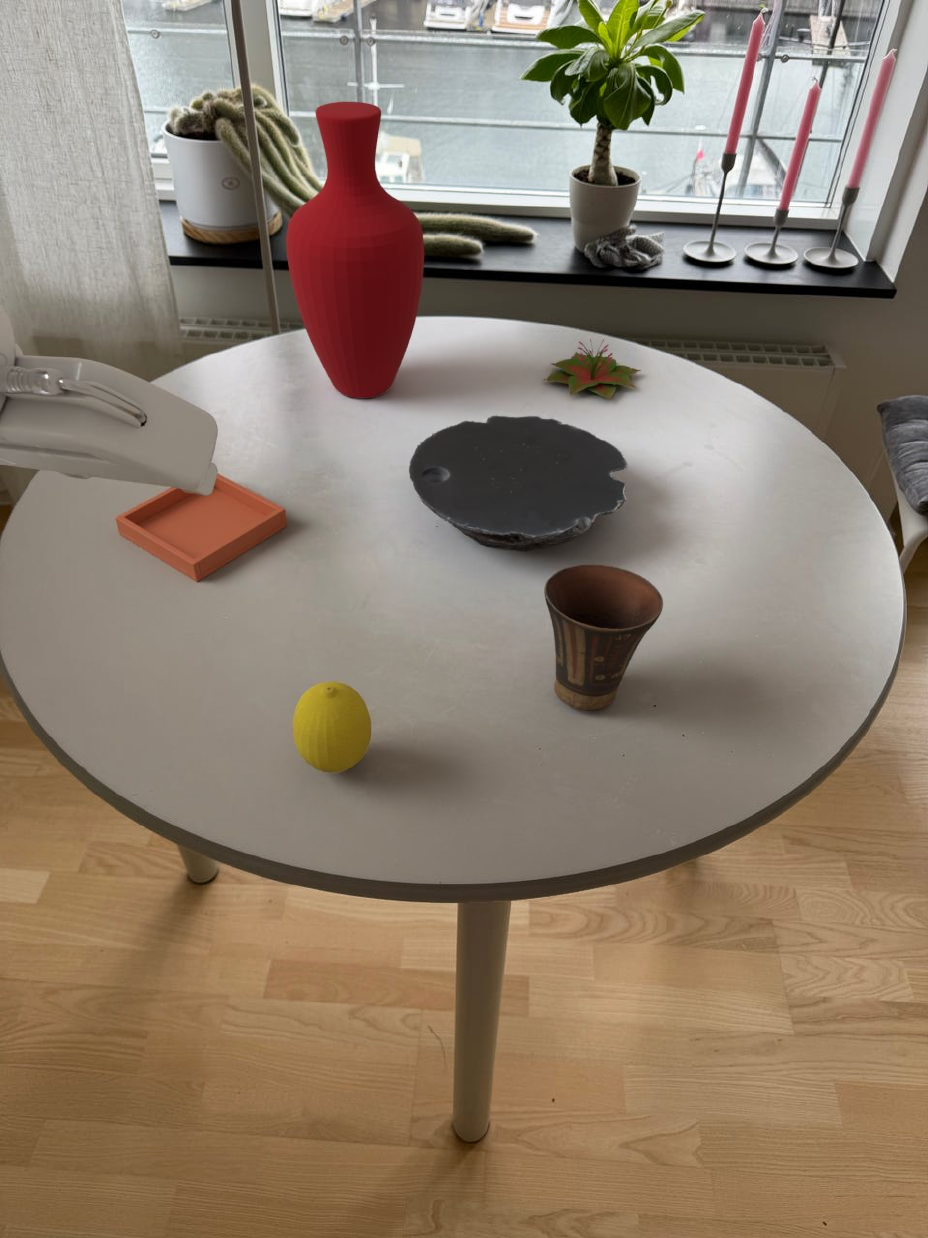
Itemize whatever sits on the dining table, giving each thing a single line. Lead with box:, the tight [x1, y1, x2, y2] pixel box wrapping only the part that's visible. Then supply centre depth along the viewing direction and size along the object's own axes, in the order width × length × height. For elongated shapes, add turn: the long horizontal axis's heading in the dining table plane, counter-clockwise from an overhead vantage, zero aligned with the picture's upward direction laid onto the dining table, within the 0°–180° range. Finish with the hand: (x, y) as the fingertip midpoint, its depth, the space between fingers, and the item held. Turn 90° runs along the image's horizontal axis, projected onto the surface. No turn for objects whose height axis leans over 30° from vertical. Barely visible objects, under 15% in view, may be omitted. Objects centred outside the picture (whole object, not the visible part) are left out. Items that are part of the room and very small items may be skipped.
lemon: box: [292, 681, 372, 774], centre depth 68 cm, size 6×6×8 cm
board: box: [408, 414, 628, 552], centre depth 94 cm, size 22×22×5 cm
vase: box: [285, 101, 425, 399], centre depth 105 cm, size 15×15×30 cm
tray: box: [114, 473, 288, 583], centre depth 92 cm, size 11×11×2 cm
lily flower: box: [542, 338, 642, 401], centre depth 115 cm, size 12×12×5 cm
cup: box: [543, 563, 664, 711], centre depth 75 cm, size 9×9×10 cm
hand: (143, 473), depth 55 cm, fingers open, 8 cm apart
